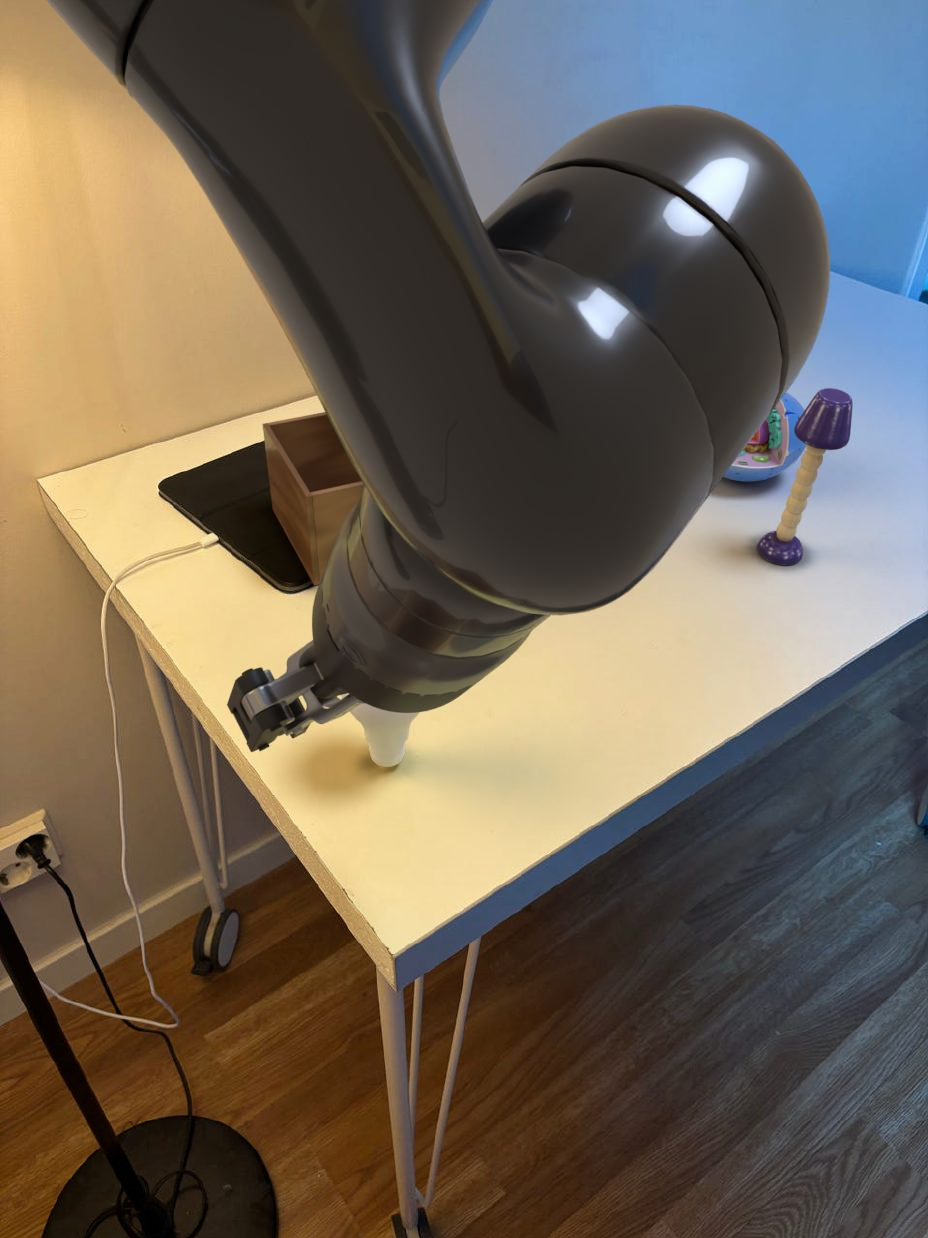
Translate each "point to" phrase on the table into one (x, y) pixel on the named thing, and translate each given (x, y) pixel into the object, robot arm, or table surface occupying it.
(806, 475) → the toy lamp
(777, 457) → the cell model
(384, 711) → the lightbulb
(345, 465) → the box
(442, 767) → the table surface
